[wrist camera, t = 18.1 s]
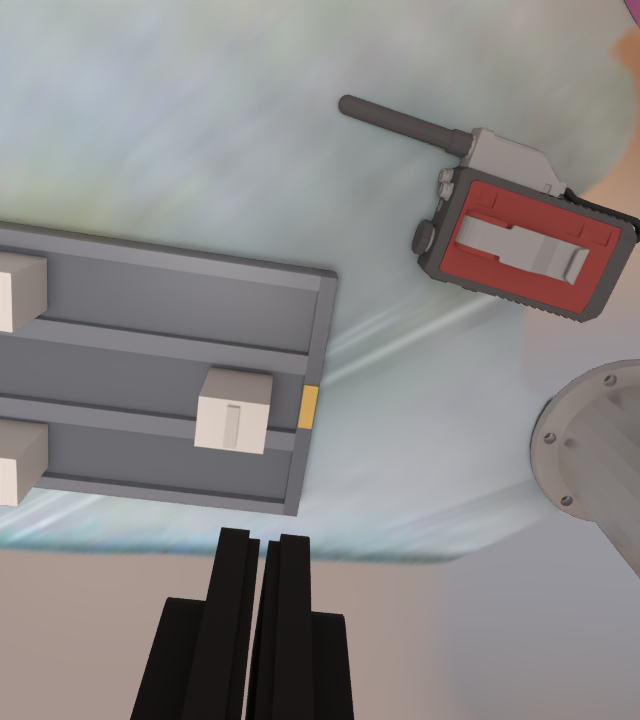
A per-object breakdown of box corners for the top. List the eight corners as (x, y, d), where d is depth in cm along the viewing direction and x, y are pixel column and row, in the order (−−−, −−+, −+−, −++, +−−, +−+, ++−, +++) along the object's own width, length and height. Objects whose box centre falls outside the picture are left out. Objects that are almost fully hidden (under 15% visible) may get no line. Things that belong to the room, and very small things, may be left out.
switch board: (335, 271, 36) (338, 279, 34) (296, 499, 42) (296, 518, 40) (-63, 211, 34) (-88, 216, 32) (-46, 460, 40) (-65, 478, 37)
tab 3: (273, 375, 36) (269, 407, 32) (266, 419, 38) (262, 457, 33) (210, 367, 36) (198, 398, 32) (205, 412, 37) (193, 448, 33)
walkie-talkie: (650, 191, 35) (343, 83, 33) (696, 197, 31) (349, 74, 28) (586, 321, 38) (299, 232, 35) (620, 342, 34) (299, 244, 31)
